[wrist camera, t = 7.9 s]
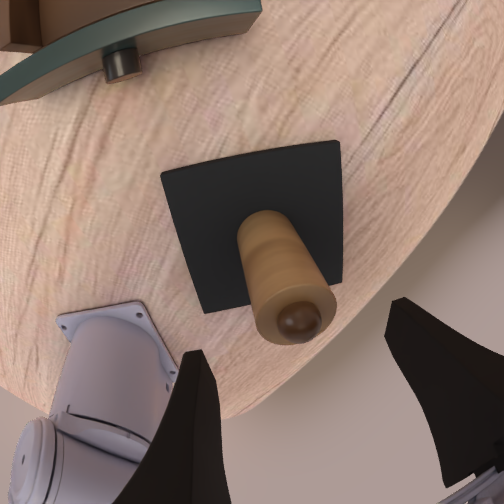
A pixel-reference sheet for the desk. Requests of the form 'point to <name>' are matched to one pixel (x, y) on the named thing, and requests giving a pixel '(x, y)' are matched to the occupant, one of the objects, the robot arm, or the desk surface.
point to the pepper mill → (283, 281)
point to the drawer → (104, 37)
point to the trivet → (249, 202)
